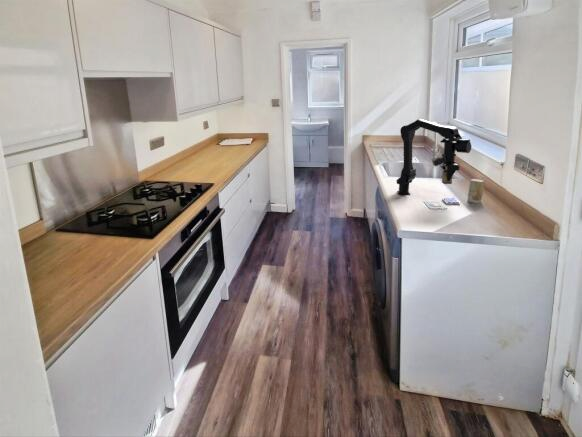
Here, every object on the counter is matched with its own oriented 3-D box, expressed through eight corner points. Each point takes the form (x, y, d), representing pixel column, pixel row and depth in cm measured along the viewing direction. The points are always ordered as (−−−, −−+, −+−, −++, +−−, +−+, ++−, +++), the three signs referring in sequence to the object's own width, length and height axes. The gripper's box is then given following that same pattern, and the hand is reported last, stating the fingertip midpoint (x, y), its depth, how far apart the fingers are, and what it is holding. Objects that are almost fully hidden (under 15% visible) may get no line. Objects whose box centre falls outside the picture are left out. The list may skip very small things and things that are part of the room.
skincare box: (466, 201, 229) (469, 179, 225) (469, 199, 232) (472, 178, 228) (478, 203, 225) (481, 181, 221) (481, 202, 228) (484, 180, 224)
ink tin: (441, 199, 233) (442, 197, 232) (454, 199, 232) (454, 197, 232) (446, 204, 224) (446, 202, 224) (460, 204, 224) (460, 202, 223)
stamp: (442, 182, 227) (442, 171, 225) (449, 182, 227) (450, 171, 225) (444, 184, 223) (444, 173, 222) (451, 183, 223) (452, 172, 221)
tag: (423, 202, 229) (423, 201, 229) (440, 202, 228) (440, 201, 228) (429, 209, 218) (429, 208, 218) (447, 209, 217) (447, 208, 217)
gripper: (429, 149, 229) (427, 176, 234) (438, 154, 212) (436, 184, 217) (450, 148, 228) (448, 176, 233) (461, 154, 211) (458, 184, 216)
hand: (447, 180), depth 225 cm, fingers closed on stamp, 4 cm apart
